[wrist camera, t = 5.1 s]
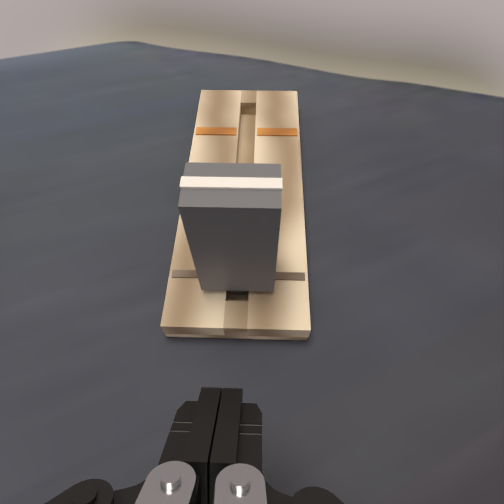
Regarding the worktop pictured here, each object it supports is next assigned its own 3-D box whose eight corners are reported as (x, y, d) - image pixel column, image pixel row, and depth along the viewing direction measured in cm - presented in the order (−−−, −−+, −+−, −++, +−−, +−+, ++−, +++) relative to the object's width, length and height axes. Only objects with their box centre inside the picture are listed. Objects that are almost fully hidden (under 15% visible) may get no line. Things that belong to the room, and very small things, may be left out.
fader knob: (203, 299, 27) (176, 204, 17) (207, 264, 28) (184, 159, 19) (273, 301, 26) (282, 206, 17) (273, 265, 28) (282, 161, 19)
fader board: (166, 336, 26) (160, 325, 24) (203, 106, 40) (201, 89, 38) (307, 340, 26) (311, 329, 24) (295, 107, 40) (297, 90, 38)
